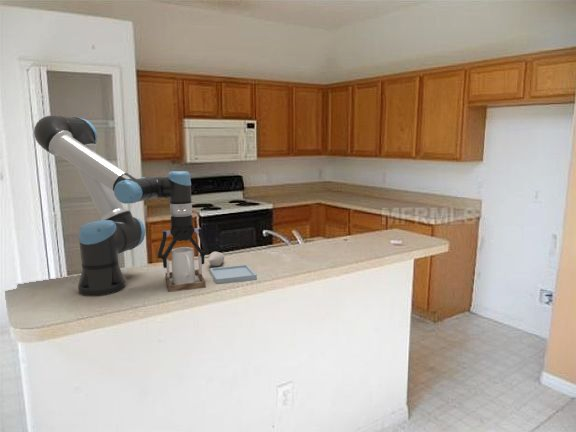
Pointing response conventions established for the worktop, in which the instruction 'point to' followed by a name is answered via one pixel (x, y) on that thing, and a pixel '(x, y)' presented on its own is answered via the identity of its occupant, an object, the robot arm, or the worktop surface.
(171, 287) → the walnut frame
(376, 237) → the worktop surface
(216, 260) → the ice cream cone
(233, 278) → the tray
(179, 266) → the mug
